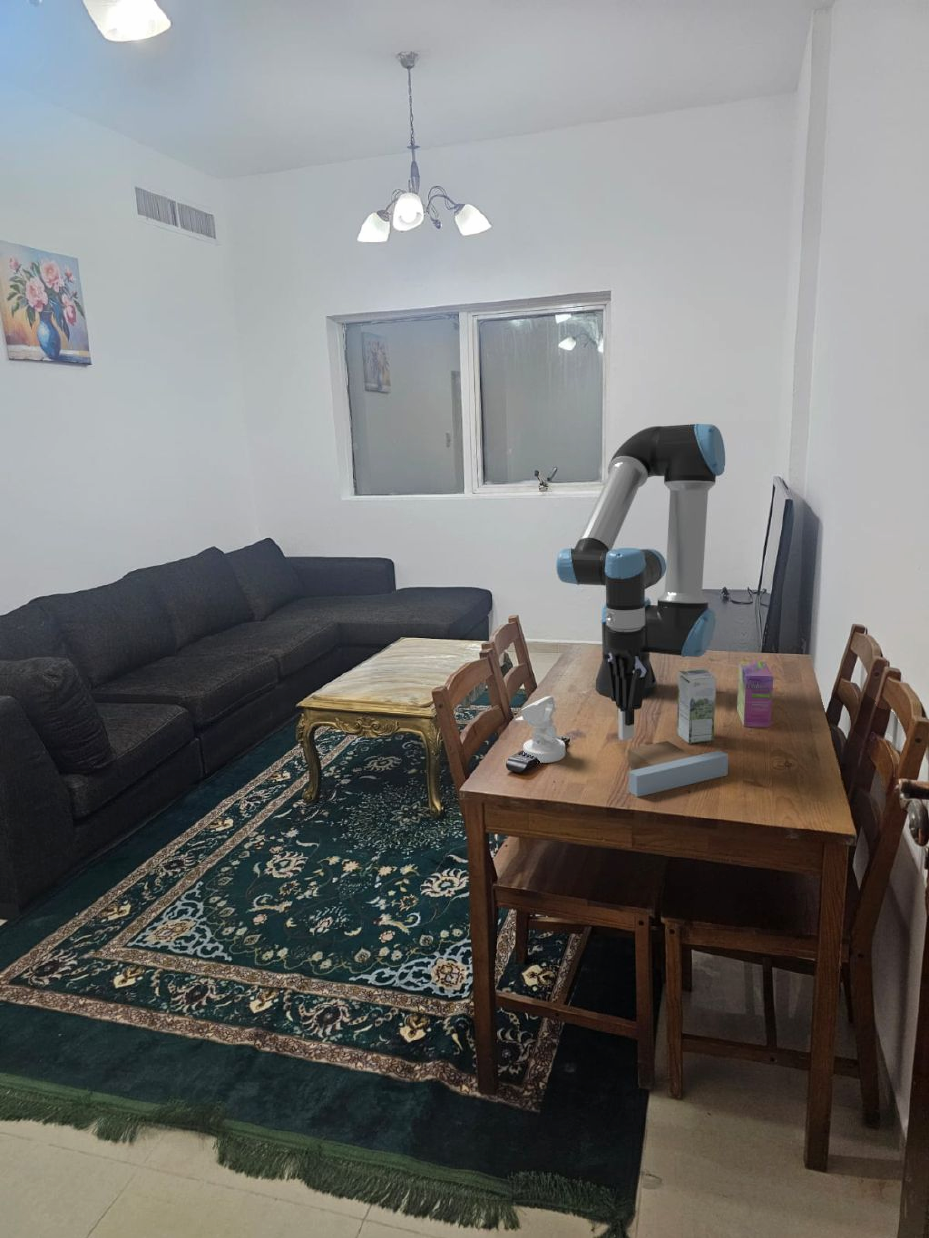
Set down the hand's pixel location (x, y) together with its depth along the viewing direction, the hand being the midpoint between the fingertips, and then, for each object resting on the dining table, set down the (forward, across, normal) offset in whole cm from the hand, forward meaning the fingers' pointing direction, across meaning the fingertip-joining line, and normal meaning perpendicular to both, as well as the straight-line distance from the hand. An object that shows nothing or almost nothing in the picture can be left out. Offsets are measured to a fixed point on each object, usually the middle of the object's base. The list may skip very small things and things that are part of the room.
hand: (626, 737), depth 158 cm
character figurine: (+2, -6, -16) cm, 18 cm away
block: (+3, +12, 0) cm, 12 cm away
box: (+3, -1, +34) cm, 34 cm away
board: (+2, +18, 0) cm, 18 cm away
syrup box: (+3, +2, +16) cm, 16 cm away
